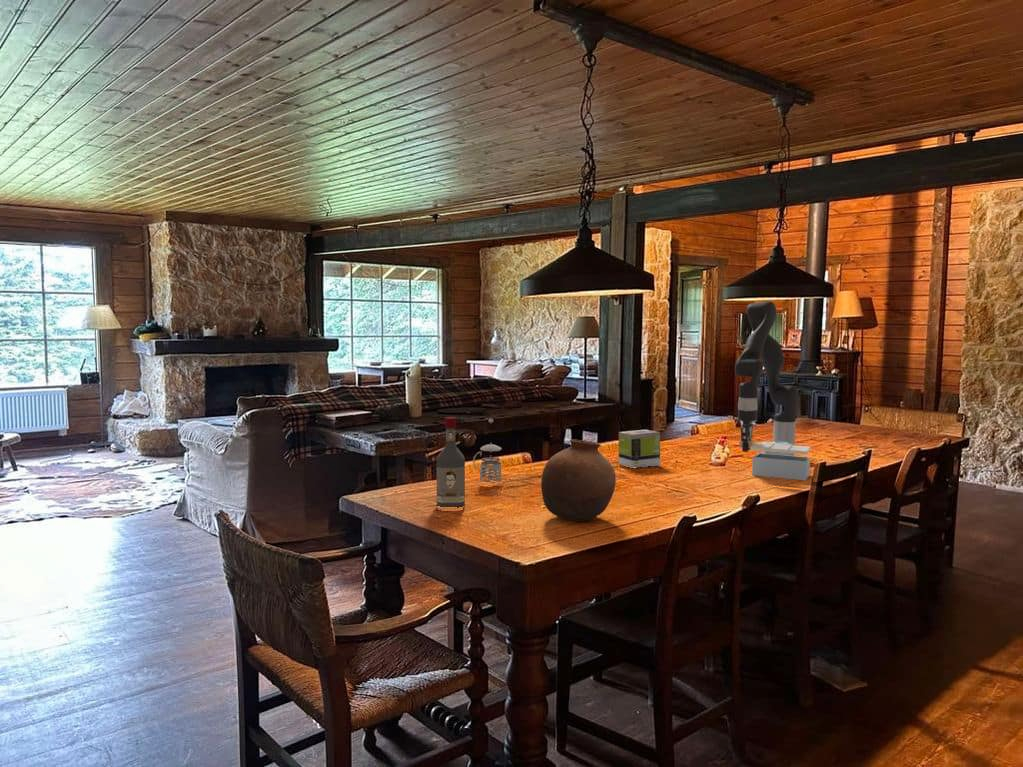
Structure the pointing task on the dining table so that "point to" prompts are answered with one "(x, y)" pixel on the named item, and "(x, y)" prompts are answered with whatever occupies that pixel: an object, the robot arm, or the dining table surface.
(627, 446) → the tea box
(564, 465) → the pottery
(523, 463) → the dining table surface
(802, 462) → the tub
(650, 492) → the dining table surface
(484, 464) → the french press
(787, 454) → the light bulb box
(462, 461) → the liquor
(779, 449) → the lid
